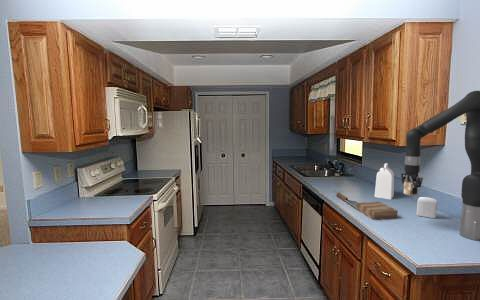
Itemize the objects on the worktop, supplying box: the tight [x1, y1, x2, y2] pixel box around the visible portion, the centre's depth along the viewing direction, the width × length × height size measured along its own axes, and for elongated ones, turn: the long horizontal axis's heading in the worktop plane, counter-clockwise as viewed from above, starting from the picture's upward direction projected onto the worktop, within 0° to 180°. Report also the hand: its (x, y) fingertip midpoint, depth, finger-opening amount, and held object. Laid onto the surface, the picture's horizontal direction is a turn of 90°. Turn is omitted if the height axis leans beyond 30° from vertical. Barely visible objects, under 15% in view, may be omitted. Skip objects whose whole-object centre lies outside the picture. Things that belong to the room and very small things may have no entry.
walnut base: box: [356, 201, 399, 221], centre depth 178 cm, size 18×16×5 cm
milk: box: [374, 162, 395, 200], centre depth 216 cm, size 12×12×26 cm
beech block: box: [403, 182, 419, 197], centre depth 161 cm, size 5×5×7 cm
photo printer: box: [415, 196, 438, 219], centre depth 173 cm, size 10×4×12 cm, turn 60°
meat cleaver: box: [336, 192, 359, 210], centre depth 202 cm, size 34×11×4 cm, turn 5°
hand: (410, 192), depth 161 cm, fingers closed on beech block, 5 cm apart
